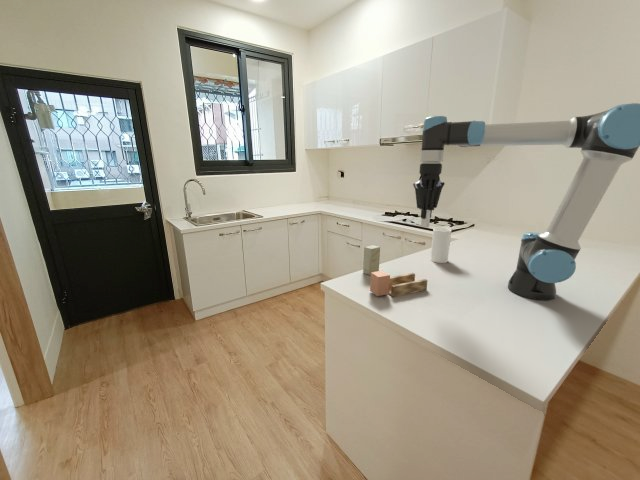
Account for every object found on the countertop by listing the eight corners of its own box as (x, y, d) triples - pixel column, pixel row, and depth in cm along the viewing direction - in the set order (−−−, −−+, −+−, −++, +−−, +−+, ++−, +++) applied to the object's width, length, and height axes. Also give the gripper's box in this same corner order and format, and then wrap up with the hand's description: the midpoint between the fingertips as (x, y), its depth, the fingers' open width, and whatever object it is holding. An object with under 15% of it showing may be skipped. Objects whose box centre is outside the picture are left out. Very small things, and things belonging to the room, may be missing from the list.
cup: (449, 263, 145) (453, 231, 140) (431, 262, 146) (434, 231, 142) (445, 258, 152) (449, 228, 148) (429, 257, 154) (432, 227, 150)
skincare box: (369, 275, 129) (371, 249, 126) (362, 272, 132) (363, 246, 129) (379, 272, 133) (380, 246, 130) (371, 269, 136) (373, 244, 133)
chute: (412, 282, 122) (413, 272, 121) (426, 289, 115) (427, 280, 114) (380, 288, 116) (380, 278, 115) (392, 297, 109) (393, 286, 108)
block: (381, 288, 114) (382, 270, 112) (388, 293, 110) (390, 275, 108) (370, 290, 113) (370, 272, 111) (377, 296, 108) (378, 277, 106)
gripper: (437, 162, 112) (431, 223, 118) (409, 162, 107) (404, 226, 113) (452, 162, 105) (445, 227, 112) (424, 163, 100) (418, 230, 107)
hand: (424, 226), depth 112 cm, fingers closed
